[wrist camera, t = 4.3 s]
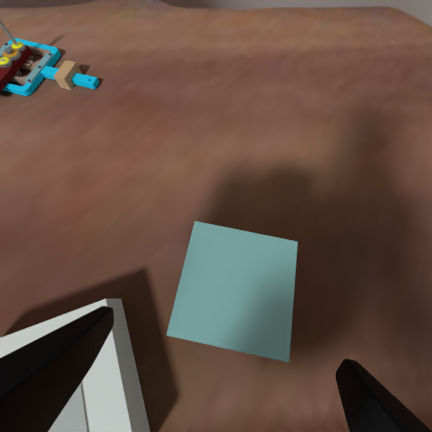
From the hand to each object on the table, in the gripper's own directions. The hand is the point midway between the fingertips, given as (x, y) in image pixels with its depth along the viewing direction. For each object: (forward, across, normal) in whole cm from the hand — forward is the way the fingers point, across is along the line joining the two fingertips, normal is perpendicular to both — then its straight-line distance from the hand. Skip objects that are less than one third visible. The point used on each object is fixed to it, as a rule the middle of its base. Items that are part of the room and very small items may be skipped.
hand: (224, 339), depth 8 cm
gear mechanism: (+24, -29, +8) cm, 38 cm away
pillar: (+9, 0, -6) cm, 11 cm away
